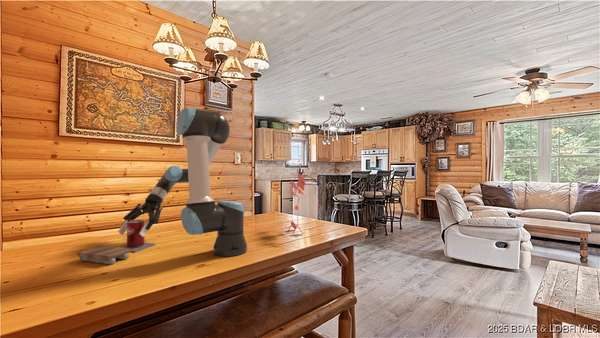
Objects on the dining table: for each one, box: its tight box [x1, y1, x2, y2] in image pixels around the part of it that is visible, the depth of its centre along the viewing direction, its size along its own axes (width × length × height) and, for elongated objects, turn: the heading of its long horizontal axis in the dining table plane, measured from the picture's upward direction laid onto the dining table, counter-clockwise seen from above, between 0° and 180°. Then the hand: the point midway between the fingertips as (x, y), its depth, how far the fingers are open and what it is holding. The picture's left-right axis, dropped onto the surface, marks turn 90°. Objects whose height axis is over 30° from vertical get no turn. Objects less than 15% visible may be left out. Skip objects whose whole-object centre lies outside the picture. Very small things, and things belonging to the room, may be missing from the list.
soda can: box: [126, 219, 146, 248], centre depth 129 cm, size 7×7×12 cm
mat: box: [120, 242, 157, 253], centre depth 129 cm, size 12×12×1 cm
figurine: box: [287, 173, 307, 235], centre depth 161 cm, size 15×26×35 cm, turn 19°
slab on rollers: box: [76, 244, 131, 265], centre depth 112 cm, size 16×10×4 cm, turn 75°
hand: (130, 234), depth 126 cm, fingers open, 11 cm apart
